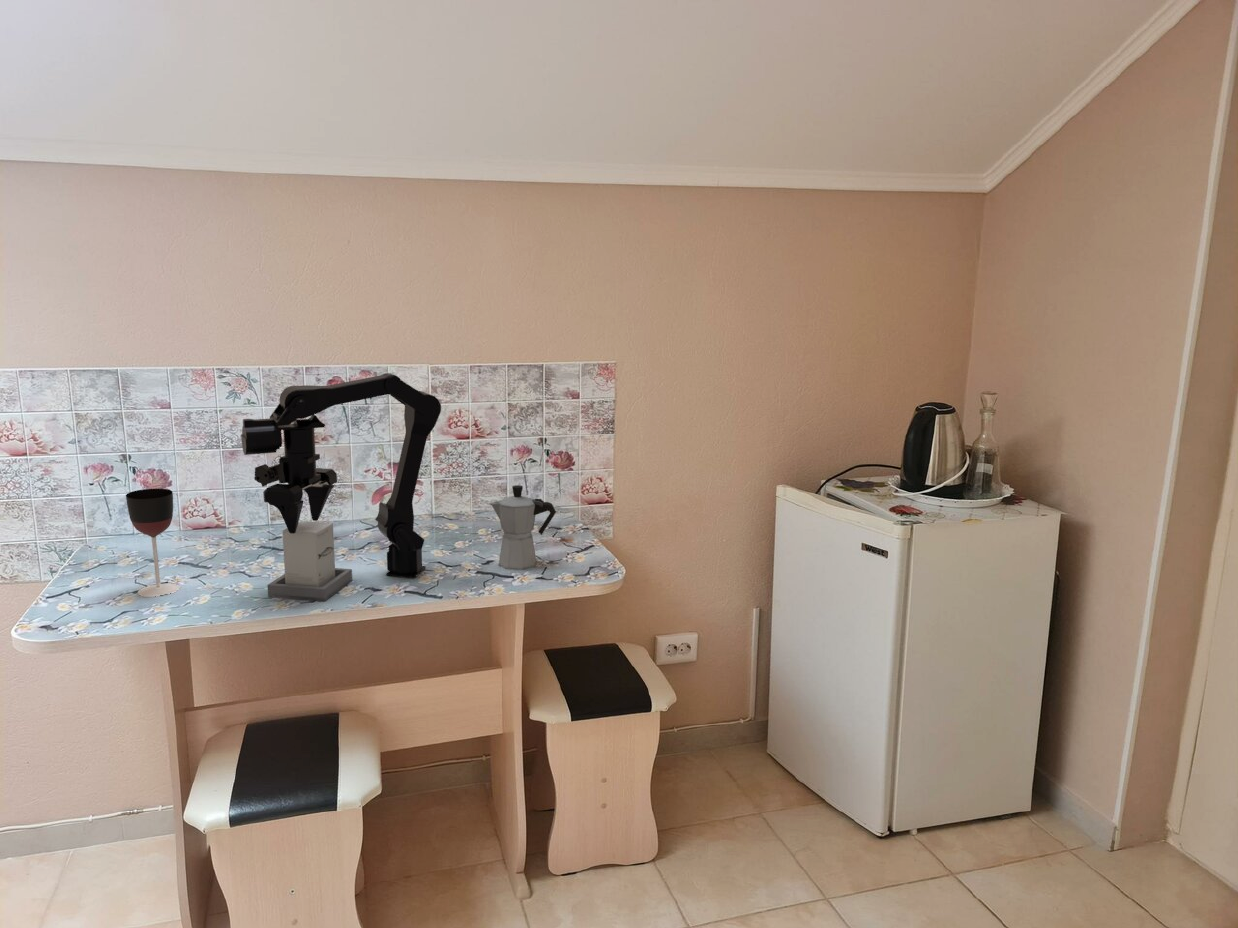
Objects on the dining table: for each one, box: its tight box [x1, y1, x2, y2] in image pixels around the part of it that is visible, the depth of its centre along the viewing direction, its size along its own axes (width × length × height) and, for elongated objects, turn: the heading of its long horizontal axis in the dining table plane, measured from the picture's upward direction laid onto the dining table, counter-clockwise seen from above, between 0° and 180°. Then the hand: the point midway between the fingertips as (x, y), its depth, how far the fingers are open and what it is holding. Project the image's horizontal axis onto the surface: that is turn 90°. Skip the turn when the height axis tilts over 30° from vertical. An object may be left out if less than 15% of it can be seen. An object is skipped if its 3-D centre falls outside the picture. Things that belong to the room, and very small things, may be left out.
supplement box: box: [281, 520, 336, 587], centre depth 175 cm, size 7×7×13 cm
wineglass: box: [125, 488, 181, 598], centre depth 171 cm, size 8×9×20 cm
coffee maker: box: [488, 484, 557, 571], centre depth 192 cm, size 15×9×18 cm, turn 88°
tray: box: [267, 567, 353, 602], centre depth 176 cm, size 12×12×2 cm
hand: (304, 526), depth 173 cm, fingers open, 9 cm apart
